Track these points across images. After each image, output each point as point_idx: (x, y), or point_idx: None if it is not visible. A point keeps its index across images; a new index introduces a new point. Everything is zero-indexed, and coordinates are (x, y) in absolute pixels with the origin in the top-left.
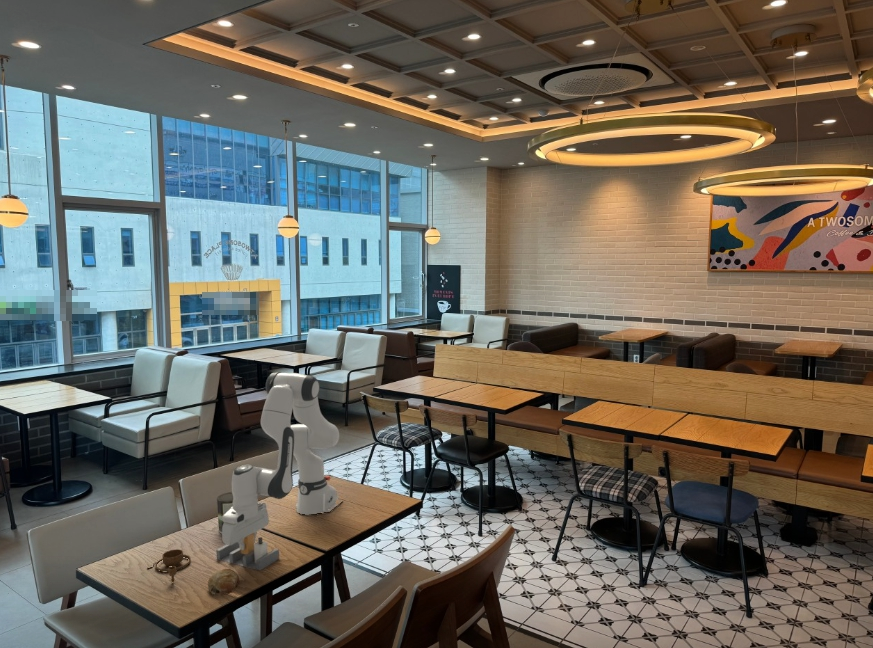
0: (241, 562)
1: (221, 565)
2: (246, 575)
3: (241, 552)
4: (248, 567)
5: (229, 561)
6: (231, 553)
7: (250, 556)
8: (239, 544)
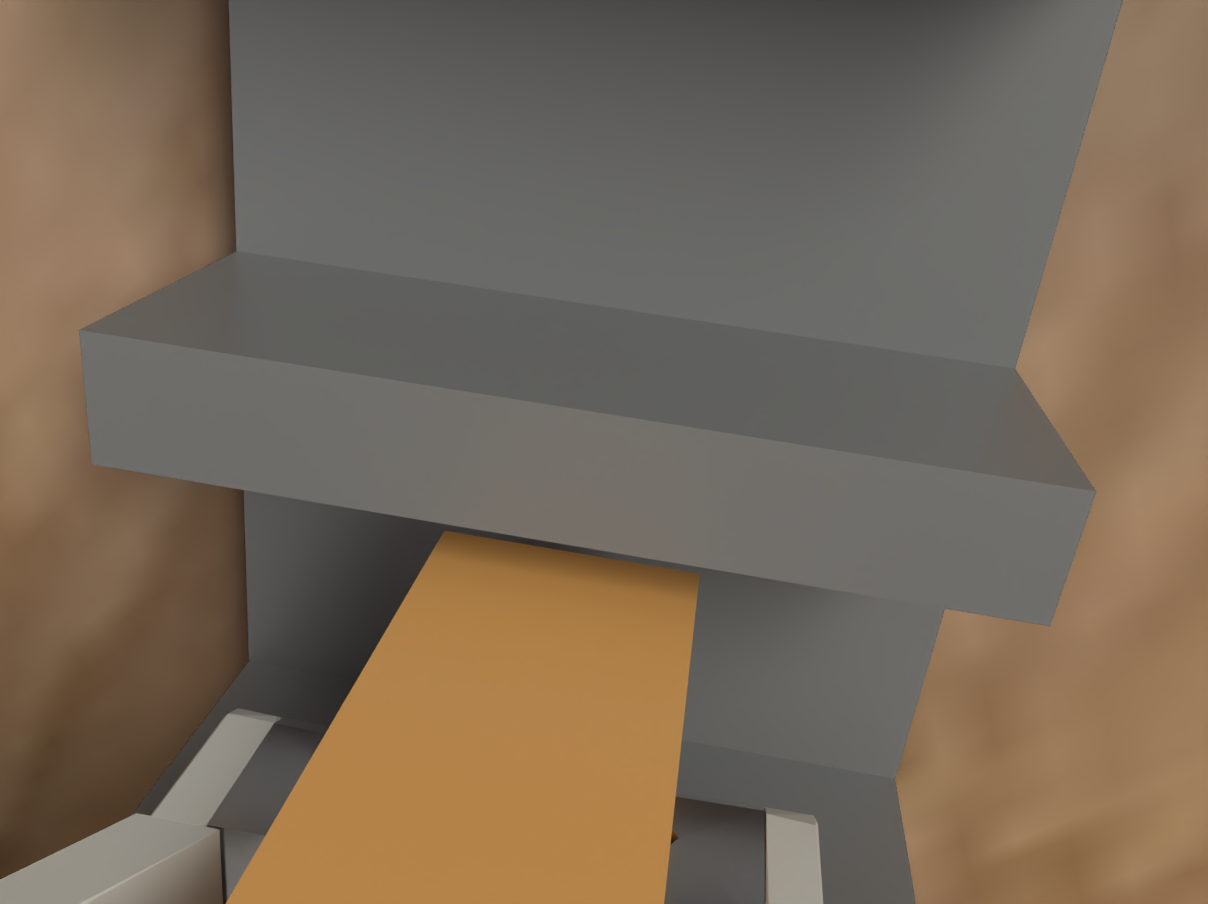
0: (364, 536)
1: (161, 11)
2: (112, 805)
3: (431, 558)
4: None
5: (277, 201)
6: (99, 417)
7: None
8: (117, 833)
